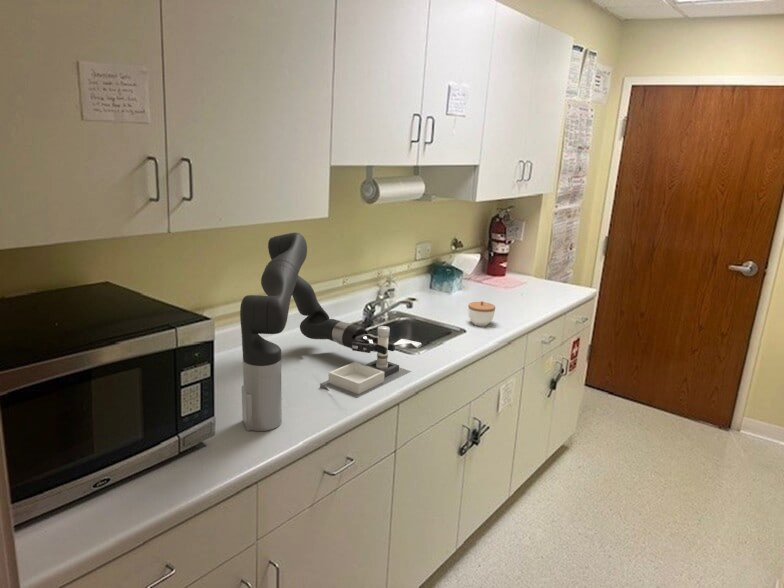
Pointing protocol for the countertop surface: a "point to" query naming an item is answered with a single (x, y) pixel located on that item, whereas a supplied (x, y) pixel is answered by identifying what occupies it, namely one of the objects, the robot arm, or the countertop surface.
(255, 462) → the countertop surface
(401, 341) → the hard drive
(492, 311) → the lidded jar
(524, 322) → the countertop surface
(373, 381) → the grey board with tray
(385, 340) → the white capped peg
